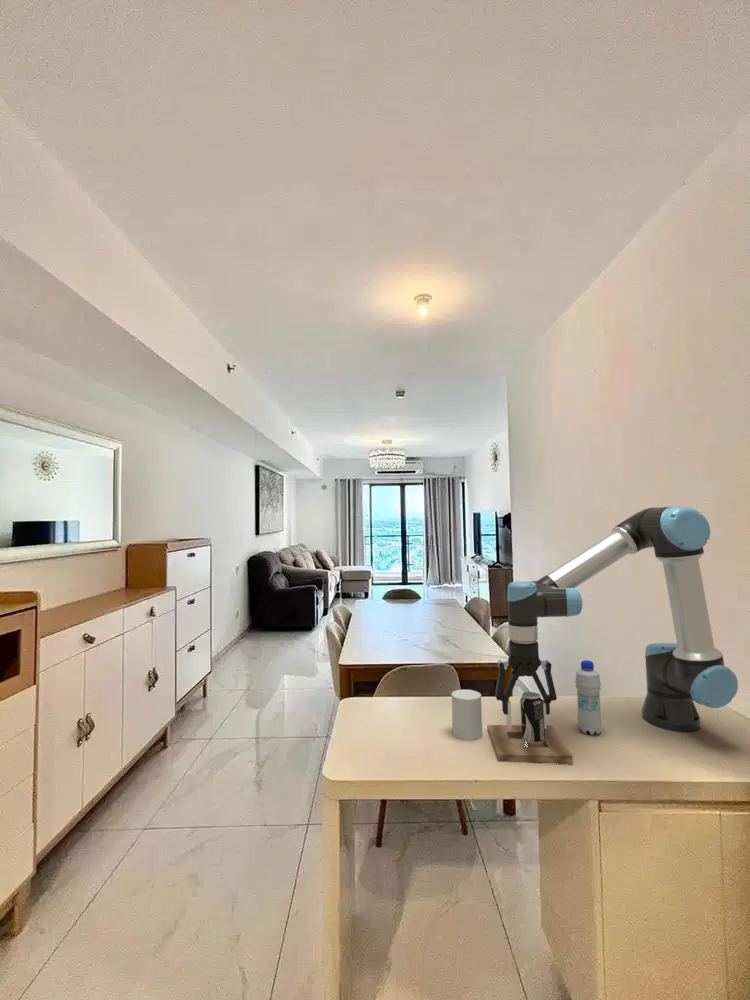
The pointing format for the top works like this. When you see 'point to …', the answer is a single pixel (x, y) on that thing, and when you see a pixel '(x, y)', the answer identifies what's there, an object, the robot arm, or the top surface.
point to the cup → (467, 714)
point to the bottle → (588, 698)
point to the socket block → (534, 753)
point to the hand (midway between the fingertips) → (526, 726)
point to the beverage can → (532, 718)
